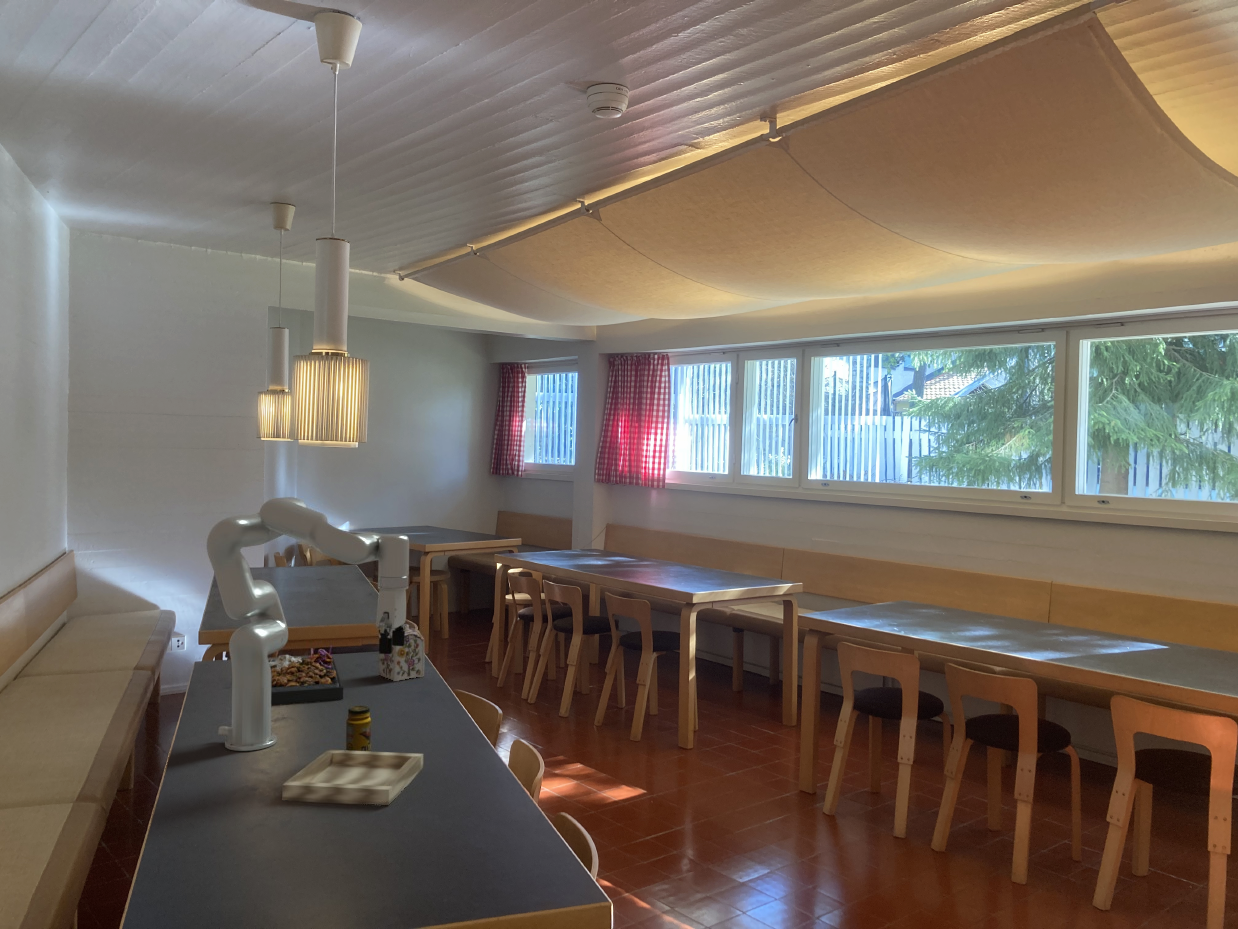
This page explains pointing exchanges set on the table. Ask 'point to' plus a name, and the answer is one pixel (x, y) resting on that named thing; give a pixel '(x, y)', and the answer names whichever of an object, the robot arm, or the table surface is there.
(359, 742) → the condiment
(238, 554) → the robot arm
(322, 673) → the food platter
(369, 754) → the tray
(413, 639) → the decorative jar
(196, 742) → the table surface
